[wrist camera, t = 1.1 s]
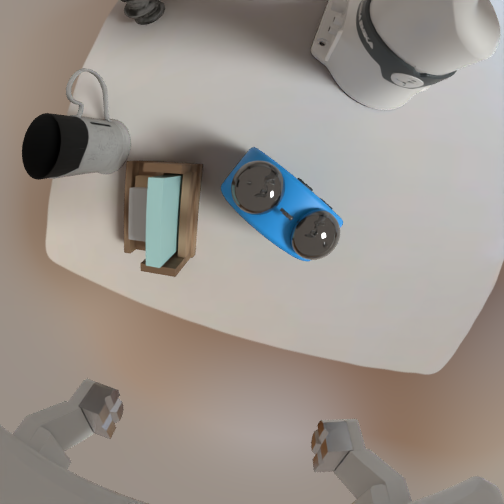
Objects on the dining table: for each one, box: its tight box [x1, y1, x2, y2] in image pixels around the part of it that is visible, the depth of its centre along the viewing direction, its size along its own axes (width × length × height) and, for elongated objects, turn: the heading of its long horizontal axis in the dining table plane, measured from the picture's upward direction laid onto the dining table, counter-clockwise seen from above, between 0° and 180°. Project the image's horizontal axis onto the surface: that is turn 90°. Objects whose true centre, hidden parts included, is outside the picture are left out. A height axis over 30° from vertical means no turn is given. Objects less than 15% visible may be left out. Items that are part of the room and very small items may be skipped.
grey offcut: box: [128, 187, 148, 242], centre depth 34 cm, size 7×3×2 cm, turn 173°
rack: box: [124, 161, 203, 277], centre depth 34 cm, size 13×10×8 cm
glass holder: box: [22, 68, 131, 179], centre depth 27 cm, size 9×14×15 cm, turn 155°
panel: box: [146, 174, 183, 268], centre depth 32 cm, size 10×2×8 cm, turn 173°
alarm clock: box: [221, 147, 343, 261], centre depth 29 cm, size 13×6×15 cm, turn 52°
